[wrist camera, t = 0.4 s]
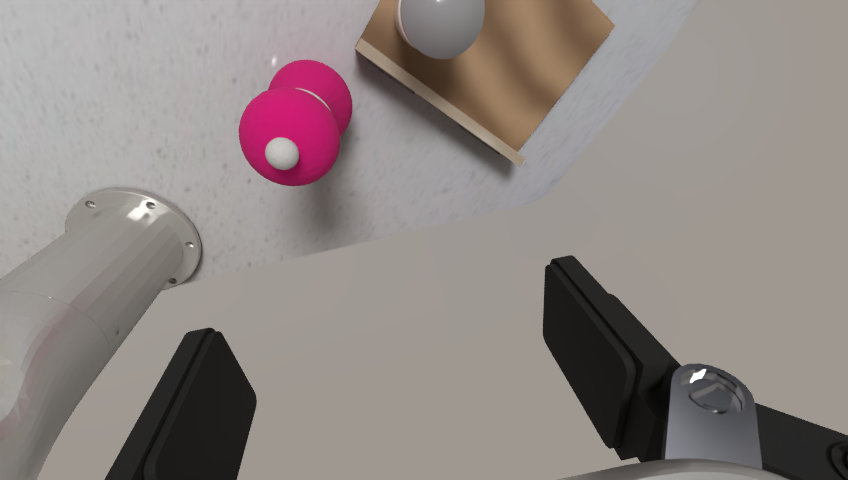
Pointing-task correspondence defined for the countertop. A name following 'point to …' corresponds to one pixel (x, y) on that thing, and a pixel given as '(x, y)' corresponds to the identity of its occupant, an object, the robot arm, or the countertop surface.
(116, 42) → the countertop surface
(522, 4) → the shelf
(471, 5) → the jar
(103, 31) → the countertop surface
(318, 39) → the countertop surface
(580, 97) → the countertop surface
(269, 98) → the pepper mill
